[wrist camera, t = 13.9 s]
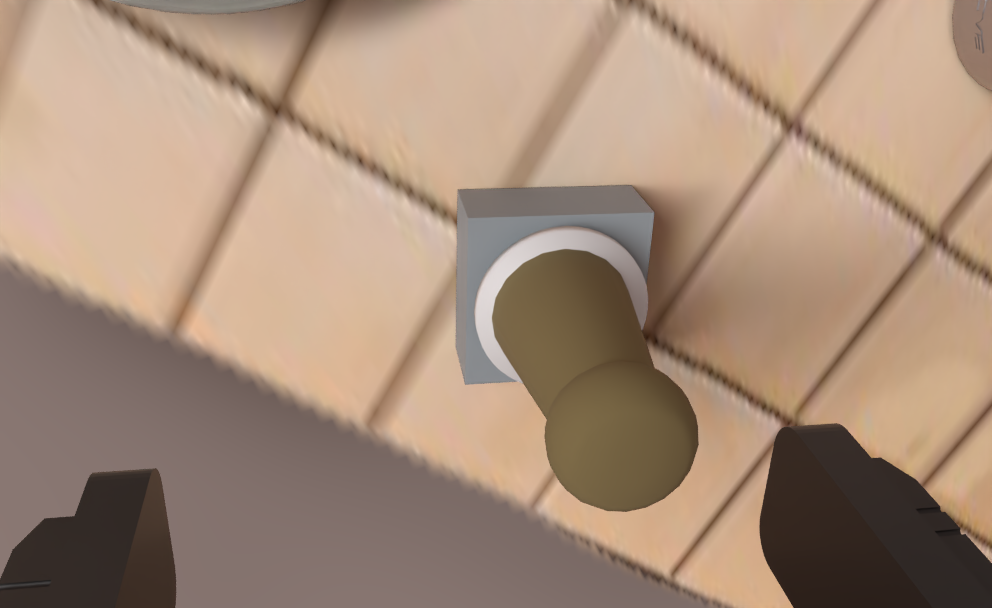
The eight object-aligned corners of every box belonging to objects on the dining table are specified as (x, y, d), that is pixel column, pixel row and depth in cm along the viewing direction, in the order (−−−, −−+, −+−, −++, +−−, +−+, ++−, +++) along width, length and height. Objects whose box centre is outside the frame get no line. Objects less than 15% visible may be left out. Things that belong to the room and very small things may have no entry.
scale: (631, 185, 44) (663, 222, 39) (615, 346, 47) (643, 396, 43) (457, 189, 42) (471, 229, 38) (455, 354, 46) (468, 407, 42)
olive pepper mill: (473, 277, 39) (522, 425, 29) (612, 228, 39) (706, 361, 30) (514, 393, 42) (571, 563, 32) (643, 348, 42) (739, 505, 32)
